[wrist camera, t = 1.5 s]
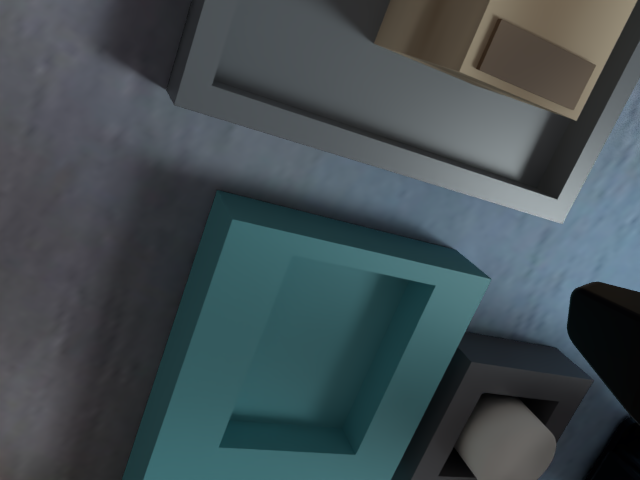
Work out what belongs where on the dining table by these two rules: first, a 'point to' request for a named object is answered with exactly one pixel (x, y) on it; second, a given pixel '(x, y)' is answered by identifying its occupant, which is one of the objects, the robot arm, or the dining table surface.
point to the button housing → (497, 378)
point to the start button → (505, 440)
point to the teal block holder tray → (301, 349)
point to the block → (511, 44)
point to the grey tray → (391, 100)
